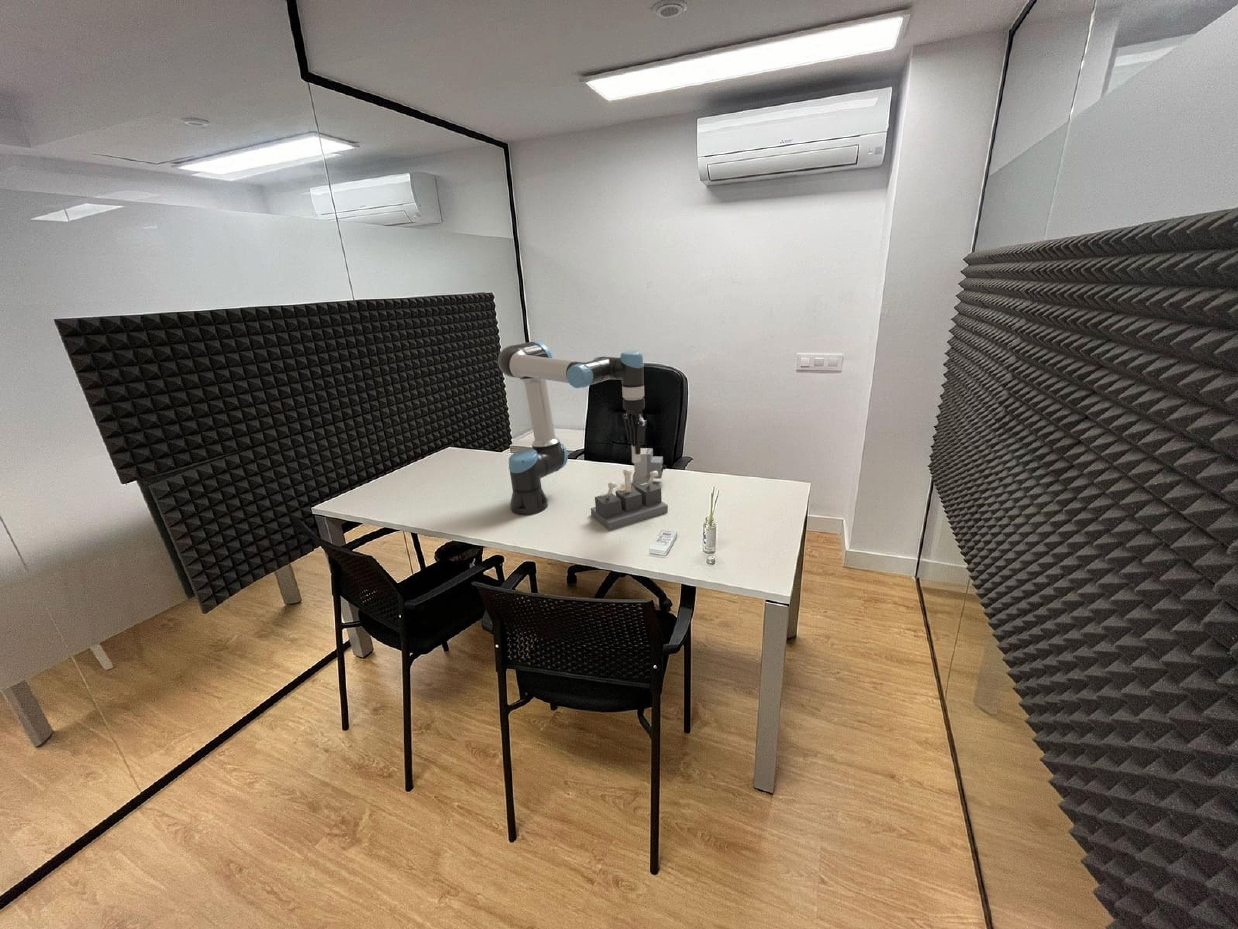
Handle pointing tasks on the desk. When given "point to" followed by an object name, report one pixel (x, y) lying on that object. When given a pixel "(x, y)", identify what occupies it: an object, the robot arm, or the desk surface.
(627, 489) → the handle
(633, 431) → the robot arm
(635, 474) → the circuit breaker
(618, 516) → the breaker board
